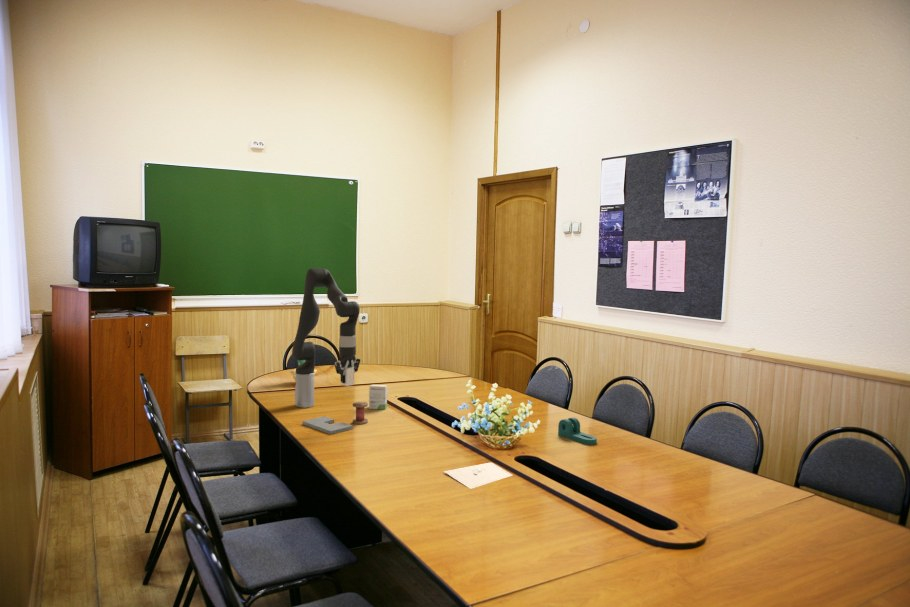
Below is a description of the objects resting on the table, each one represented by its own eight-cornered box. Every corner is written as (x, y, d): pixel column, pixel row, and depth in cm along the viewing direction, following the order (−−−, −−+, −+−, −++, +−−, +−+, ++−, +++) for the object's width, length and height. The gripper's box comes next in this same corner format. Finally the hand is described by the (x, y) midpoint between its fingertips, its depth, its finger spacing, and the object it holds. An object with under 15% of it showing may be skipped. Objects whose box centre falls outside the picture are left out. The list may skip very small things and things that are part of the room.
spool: (349, 422, 282) (349, 403, 281) (361, 419, 287) (361, 400, 286) (358, 425, 277) (358, 406, 276) (370, 422, 282) (370, 403, 281)
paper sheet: (496, 463, 231) (497, 460, 231) (539, 493, 205) (539, 490, 205) (441, 471, 220) (441, 468, 220) (478, 504, 195) (478, 501, 194)
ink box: (368, 409, 306) (368, 386, 305) (371, 406, 311) (371, 384, 310) (385, 409, 305) (385, 386, 304) (387, 407, 310) (387, 384, 309)
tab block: (341, 384, 274) (341, 367, 273) (348, 383, 277) (348, 366, 276) (346, 386, 271) (346, 368, 271) (353, 384, 274) (353, 367, 274)
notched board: (302, 424, 277) (302, 421, 277) (324, 419, 286) (324, 416, 286) (331, 434, 262) (331, 431, 262) (352, 428, 271) (352, 425, 271)
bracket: (558, 435, 267) (558, 418, 267) (568, 432, 271) (569, 415, 271) (589, 446, 253) (590, 427, 252) (599, 443, 257) (600, 425, 256)
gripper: (354, 342, 280) (354, 378, 282) (329, 345, 270) (329, 383, 271) (364, 344, 275) (364, 381, 277) (340, 347, 265) (339, 385, 266)
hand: (347, 381), depth 274 cm, fingers closed on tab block, 4 cm apart
